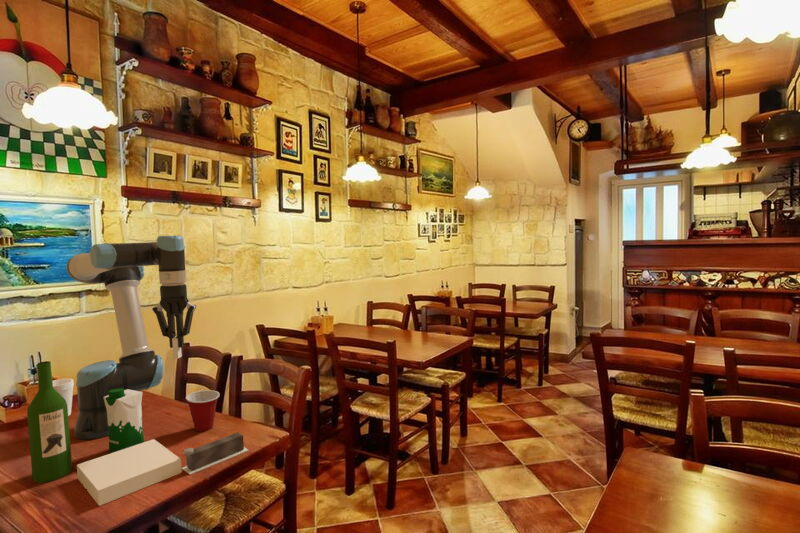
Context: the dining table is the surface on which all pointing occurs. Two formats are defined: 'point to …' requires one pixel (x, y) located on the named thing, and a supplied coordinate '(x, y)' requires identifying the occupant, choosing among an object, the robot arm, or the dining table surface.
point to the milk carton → (124, 418)
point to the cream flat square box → (127, 471)
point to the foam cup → (65, 390)
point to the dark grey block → (213, 451)
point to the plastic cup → (203, 408)
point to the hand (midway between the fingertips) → (177, 357)
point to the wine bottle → (48, 430)
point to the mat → (214, 462)
